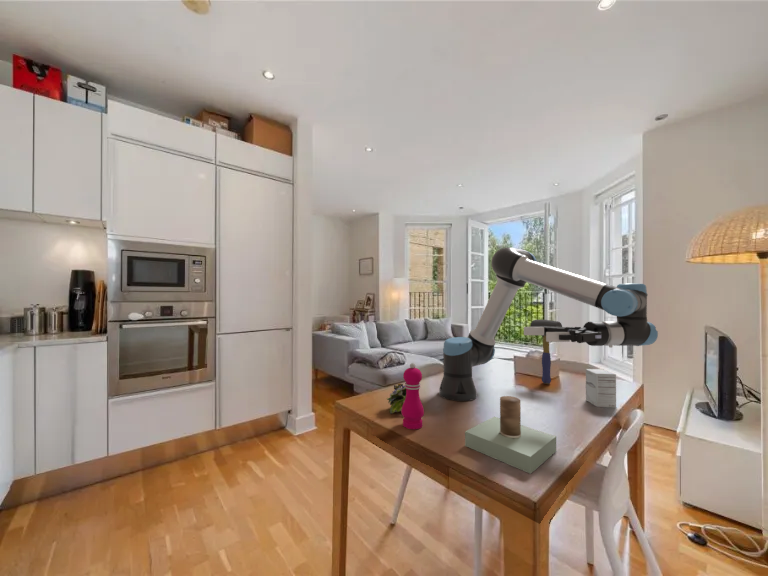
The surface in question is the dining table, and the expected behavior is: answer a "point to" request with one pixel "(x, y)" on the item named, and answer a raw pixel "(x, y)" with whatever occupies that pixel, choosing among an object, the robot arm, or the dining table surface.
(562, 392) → the dining table surface
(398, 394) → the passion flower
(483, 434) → the sage board
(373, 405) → the dining table surface
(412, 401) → the pepper mill
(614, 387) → the supplement box
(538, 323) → the rubber mallet
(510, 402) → the walnut peg
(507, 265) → the robot arm
